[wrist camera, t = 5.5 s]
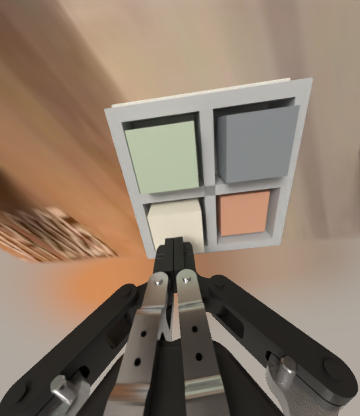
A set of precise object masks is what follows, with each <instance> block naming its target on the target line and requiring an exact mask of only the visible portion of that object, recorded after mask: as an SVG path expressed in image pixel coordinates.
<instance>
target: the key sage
mask: <svg viewBox="0 0 360 416" xmlns="http://www.w3.org/2000/svg"><path fill="white" fill-rule="evenodd" d="M125 134H126V138H127V142H128V146H129V150H130V154H131V157H132V161H133V165H134V169H135V173H136V177H137V181H138V185H139V189H140V193H141V194H148V193H157V192H165V191H173V190H181V189H189V188H197V187H199V182H198V169H197V156H196V143H195V131H194V121H188V122H181V123H174V124H168V125H161V126H154V127H147V128H140V129H133V130H126V131H125Z"/></svg>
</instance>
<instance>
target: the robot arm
mask: <svg viewBox="0 0 360 416" xmlns="http://www.w3.org/2000/svg"><path fill="white" fill-rule="evenodd" d="M177 292H178V303H179V307H178V311H179V323H180V335H181V338H180V339H177V340H175V341H172V336H171V335H172V321H173V309H174V293H177ZM206 312H210V313H211V314H212V315H213V317H215V319H216V320H217V321H218V322H219V323H220V324H221V325H222V326H223V327H224V328H225V329H226V330H227V331H228V332H229V333H230V334H231V335H232V336H234V337H235V339H236V340H237V341H239V343H240V344H242V345H243V346H244V347H245V348H246V349H247V350H248V351H249V352H250V353H251V354H252V355H253V356H254V357H255V358H256V359H257V360H258V361H259V362H260V363H261V364H262V365H263V366H264V367H265V368H266V372H265V375H266V380H267V384H268V386H269V388H270V390H271V391H272V393H273V394H274V395H275V397H276V398H277V399H278V401H279V403H280V405H281V407H282V410H283V413H284V414H283V413H282V412H281V411H280V410H279V408H278V407H277V406H276V405H275V404H274V403H273V401H272V400H271V399H270V398H269V397H268V396H267V394H266V393H265V392H264V391H263V390H262V389H261V387H260V386H259V385H258V384H257V383H256V382H255V381H254V379H253V378H252V377H251V376H250V375H249V374H248V373H247V371H246V370H245V369H244V368H243V367H242V366H241V364H240V363H239V362H238V361H237V360H236V359H235V358H234V356H233V355H232V354H231V353H230V352H229V351H228V350H227V349H226V348H225V347H224V346H222V345H221V344H220V343H218V342H216V341H213V340H212V337H211V333H210V329H209V325H208V320H207V316H206ZM126 343H127V346H126V349H125V353H124V354H123V355H122V356H121V357H120V358H119V359H118V360H117V361H116V363H115V364H114V365H113V366H112V368H111V369H110V370H109V372H108V373H107V374H106V376H105V377H104V378H103V380H102V381H101V382H100V384H99V385H98V386H97V387H96V389H95V390H94V391H93V393H92V394H91V395H90V397H89V393H90V387H91V385H92V384H93V383H94V382H95V381H96V380H97V378H98V377H99V376H100V375H101V373H102V372H103V371H104V370H105V369H106V367H107V366H108V365H109V364H110V362H111V361H112V360H113V359H114V358H115V356H116V355H117V354H118V353H119V352H120V350H121V349H122V348H123V347H124V345H125V344H126ZM357 392H358V384H357V381H356V378H355V376H354V374H353V373H352V371H351V370H350V368H349V367H348V366H347V365H346V364H345V363H344V362H343V361H342V360H341V359H340V358H339V357H337V356H336V355H335V354H333V353H332V352H330V351H329V350H327V349H326V348H325V347H323V346H322V345H321V344H319V343H318V342H316V341H315V340H313V339H312V338H311V337H309V336H308V335H307V334H305V333H304V332H302V331H301V330H300V329H298V328H296V327H295V326H294V325H293V324H291V323H290V322H288V321H287V320H286V319H284V318H283V317H281V316H280V315H279V314H277V313H276V312H274V311H273V310H271V309H270V308H269V307H267V306H266V305H265V304H263V303H262V302H260V301H259V300H257V299H256V298H255V297H253V296H252V295H250V294H249V293H247V292H246V291H245V290H243V289H242V288H241V287H239V286H238V285H236V284H235V283H234V282H232V281H231V280H229V279H228V278H227V277H225V276H223V275H214V276H212V277H211V278H210V279H209V278H204V277H201V276H200V275H198V273H197V272H196V269H195V261H194V254H193V246H192V244H191V243H190V242H183V236H181V237H173V238H165V245H159V247H158V248H157V251H156V257H155V264H154V270H153V275H152V276H151V277H150V278H149V280H148V282H147V283H145V284H143V285H140V286H138V287H136V286H135V285H134V284H125V285H123V286H122V287H120V288H119V289H118V290H117V291H116V292H115V293H114V294H113V295H111V296H110V298H108V299H107V300H106V301H105V302H104V303H103V304H102V305H100V306H99V307H98V308H97V309H96V310H95V311H94V312H93V313H92V314H91V315H89V316H88V317H87V318H86V319H85V320H84V321H83V322H82V323H81V324H80V325H78V326H77V327H76V328H75V329H74V330H73V331H72V332H71V333H70V334H68V335H67V336H66V337H65V338H64V339H63V340H62V341H61V342H60V343H59V344H58V345H56V346H55V347H54V348H53V349H52V350H51V351H50V352H49V353H48V354H47V355H45V356H44V357H43V358H42V359H41V360H40V361H39V362H38V363H37V364H35V365H34V366H33V367H32V368H31V369H30V370H29V371H28V372H27V373H26V374H24V375H23V376H22V377H21V378H20V379H19V380H18V381H17V382H16V383H15V384H14V385H13V386H12V387H11V388H10V389H9V390H8V392H7V393H6V394H5V396H4V397H3V399H2V401H1V403H0V416H338V412H339V411H340V410H341V409H342V408H343V407H344V406H345V405H346V404H347V403H348V402H349V401H350V400H351V399H352V398H353V397H354V396H355V395H356V394H357ZM88 397H89V398H88Z"/></svg>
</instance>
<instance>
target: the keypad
mask: <svg viewBox="0 0 360 416" xmlns="http://www.w3.org/2000/svg"><path fill="white" fill-rule="evenodd" d="M312 81H313V77H312V78H306V79H299V80H292V81H290V78H285V79H279V80H272V81H266V82H259V83H252V84H246V85H239V86H233V87H226V88H220V89H213V90H207V91H200V92H193V93H187V94H180V95H174V96H167V97H161V98H154V99H147V100H141V101H134V102H128V103H121V104H115V105H112V108H108V109H104V111H105V114H106V117H107V121H108V124H109V128H110V131H111V135H112V138H113V141H114V145H115V148H116V152H117V155H118V158H119V162H120V165H121V169H122V172H123V176H124V179H125V182H126V186H127V189H128V193H129V196H130V199H131V203H132V206H133V210H134V213H135V216H136V220H137V223H138V227H139V230H140V234H141V237H142V240H143V244H144V247H145V251H146V254H147V257H148V259H152V258H155V257H156V250H155V246H154V242H153V238H152V234H151V230H150V226H149V222H148V218H147V217H148V214H149V211H150V207H151V204H152V203H155V202H163V201H171V200H180V199H188V198H196V197H198V201H199V205H200V208H201V215H202V228H203V241H204V253H209V252H219V251H228V250H238V249H248V248H256V247H267V246H276V245H280V243H281V238H282V233H283V228H284V223H285V218H286V213H287V208H288V203H289V198H290V193H291V188H292V183H293V177H294V172H295V167H296V162H297V157H298V152H299V147H300V142H301V137H302V132H303V127H304V122H305V117H306V112H307V107H308V101H309V96H310V91H311V86H312ZM295 105H300V109H299V114H298V120H297V125H296V131H295V136H294V142H293V148H292V153H291V159H290V164H289V170H288V176H282V177H274V178H266V179H258V180H250V181H242V182H234V183H226V182H225V181H224V180H223V179H222V177H221V176H220V175H219V174H218V171H217V125H216V117H221V116H226V115H233V114H240V113H247V112H254V111H261V110H268V109H275V108H282V107H288V106H295ZM188 121H194V131H195V143H196V156H197V169H198V182H199V187H197V188H189V189H181V190H173V191H165V192H157V193H148V194H141V193H140V189H139V185H138V181H137V177H136V173H135V169H134V165H133V161H132V157H131V154H130V150H129V146H128V142H127V138H126V134H125V131H126V130H133V129H140V128H147V127H154V126H161V125H168V124H174V123H181V122H188ZM262 189H268V190H269V191H270V195H269V202H268V210H267V217H266V224H265V231H264V232H254V233H245V234H236V235H227V236H221V234H220V232H219V229H218V227H217V224H216V195H221V194H229V193H237V192H245V191H254V190H262ZM196 254H200V253H196Z"/></svg>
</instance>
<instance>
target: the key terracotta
mask: <svg viewBox="0 0 360 416" xmlns="http://www.w3.org/2000/svg"><path fill="white" fill-rule="evenodd" d="M269 195H270V191H269V190H268V189H262V190H254V191H245V192H237V193H229V194H221V195H216V224H217V227H218V229H219V232H220V234H221V236H227V235H236V234H245V233H254V232H264V231H265V224H266V217H267V210H268V202H269Z"/></svg>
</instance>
